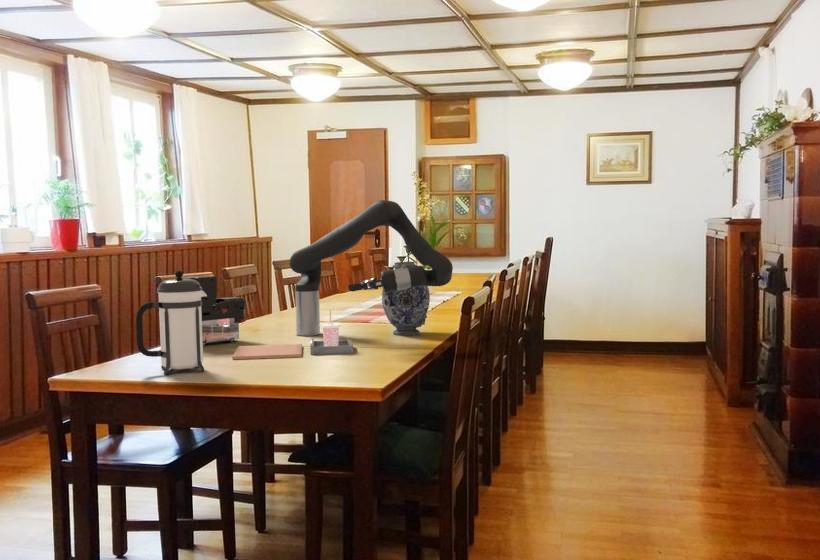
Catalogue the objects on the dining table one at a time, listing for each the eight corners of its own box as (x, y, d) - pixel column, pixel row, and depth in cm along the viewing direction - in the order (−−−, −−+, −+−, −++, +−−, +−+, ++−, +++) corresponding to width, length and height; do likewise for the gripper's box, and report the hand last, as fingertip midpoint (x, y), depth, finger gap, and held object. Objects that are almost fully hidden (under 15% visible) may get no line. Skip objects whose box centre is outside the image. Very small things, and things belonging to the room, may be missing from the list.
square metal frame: (310, 348, 271) (310, 337, 271) (350, 346, 273) (350, 336, 272) (310, 354, 257) (310, 343, 257) (352, 353, 259) (352, 342, 259)
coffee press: (179, 364, 243) (175, 268, 241) (218, 368, 236) (215, 269, 233) (136, 374, 228) (132, 272, 225) (177, 378, 220) (173, 273, 218)
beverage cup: (325, 352, 261) (324, 311, 260) (320, 350, 267) (319, 309, 266) (342, 351, 263) (341, 310, 262) (337, 348, 269) (336, 308, 268)
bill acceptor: (247, 341, 290) (245, 274, 288) (188, 348, 275) (186, 278, 273) (234, 338, 298) (232, 273, 296) (176, 345, 283) (174, 276, 281)
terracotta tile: (238, 349, 272) (238, 346, 272) (302, 346, 275) (302, 343, 275) (232, 359, 250) (232, 356, 250) (301, 357, 253) (301, 354, 253)
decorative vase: (430, 337, 292) (428, 262, 290) (381, 338, 293) (378, 264, 291) (431, 329, 313) (429, 260, 312) (385, 330, 314) (382, 261, 312)
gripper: (391, 269, 274) (345, 277, 272) (396, 269, 260) (349, 277, 258) (394, 290, 274) (349, 298, 272) (400, 291, 260) (352, 299, 258)
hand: (349, 288), depth 265 cm, fingers open, 8 cm apart
